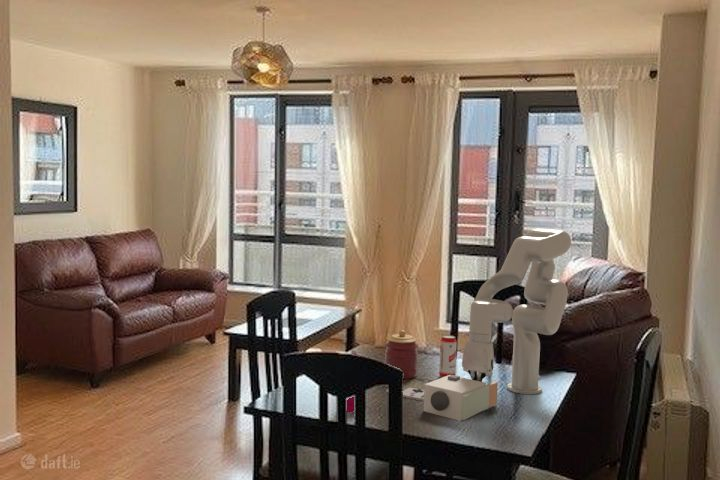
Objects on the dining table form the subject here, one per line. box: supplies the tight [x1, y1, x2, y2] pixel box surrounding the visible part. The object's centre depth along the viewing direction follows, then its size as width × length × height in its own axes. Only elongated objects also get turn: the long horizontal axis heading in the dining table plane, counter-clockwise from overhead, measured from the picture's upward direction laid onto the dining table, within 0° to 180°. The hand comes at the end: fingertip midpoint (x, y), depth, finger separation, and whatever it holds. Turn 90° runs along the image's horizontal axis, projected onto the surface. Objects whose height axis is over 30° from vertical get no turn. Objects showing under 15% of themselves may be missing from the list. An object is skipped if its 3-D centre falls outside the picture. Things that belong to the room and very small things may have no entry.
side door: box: [461, 381, 499, 421], centre depth 228 cm, size 22×1×8 cm, turn 142°
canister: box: [384, 329, 419, 380], centre depth 273 cm, size 13×13×18 cm
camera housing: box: [423, 374, 487, 422], centre depth 230 cm, size 18×14×10 cm
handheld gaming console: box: [402, 387, 424, 402], centre depth 246 cm, size 10×2×15 cm
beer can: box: [438, 334, 457, 378], centre depth 272 cm, size 6×6×16 cm
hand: (476, 390), depth 239 cm, fingers closed
